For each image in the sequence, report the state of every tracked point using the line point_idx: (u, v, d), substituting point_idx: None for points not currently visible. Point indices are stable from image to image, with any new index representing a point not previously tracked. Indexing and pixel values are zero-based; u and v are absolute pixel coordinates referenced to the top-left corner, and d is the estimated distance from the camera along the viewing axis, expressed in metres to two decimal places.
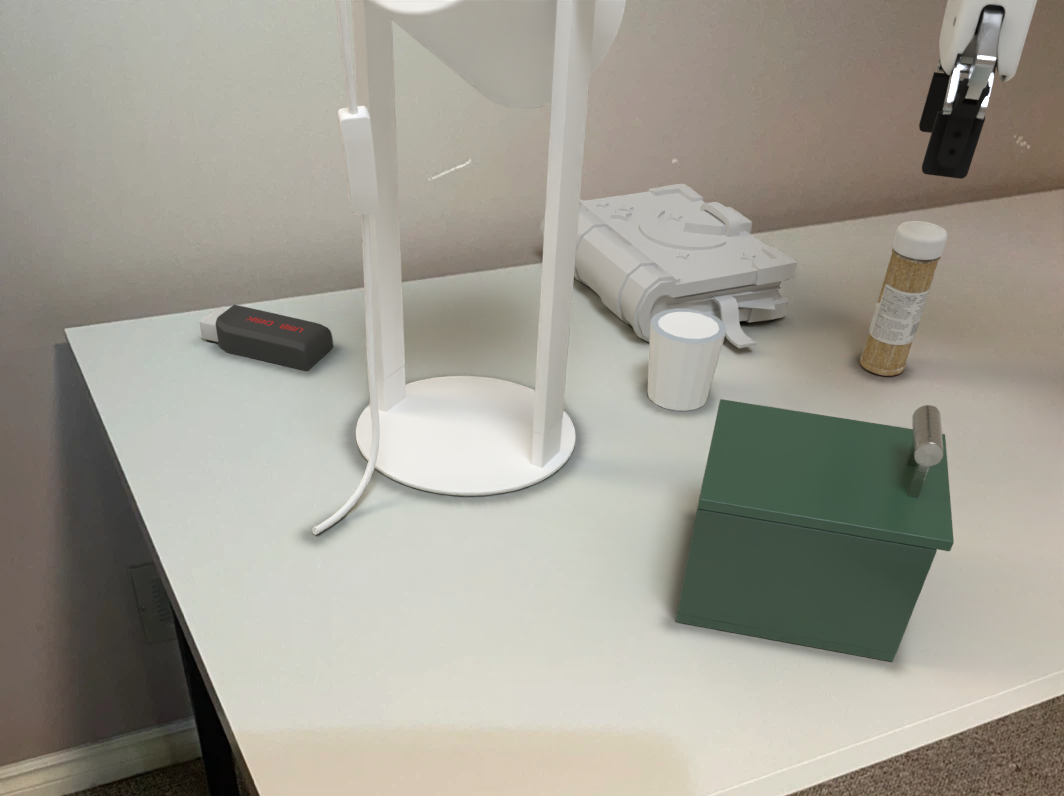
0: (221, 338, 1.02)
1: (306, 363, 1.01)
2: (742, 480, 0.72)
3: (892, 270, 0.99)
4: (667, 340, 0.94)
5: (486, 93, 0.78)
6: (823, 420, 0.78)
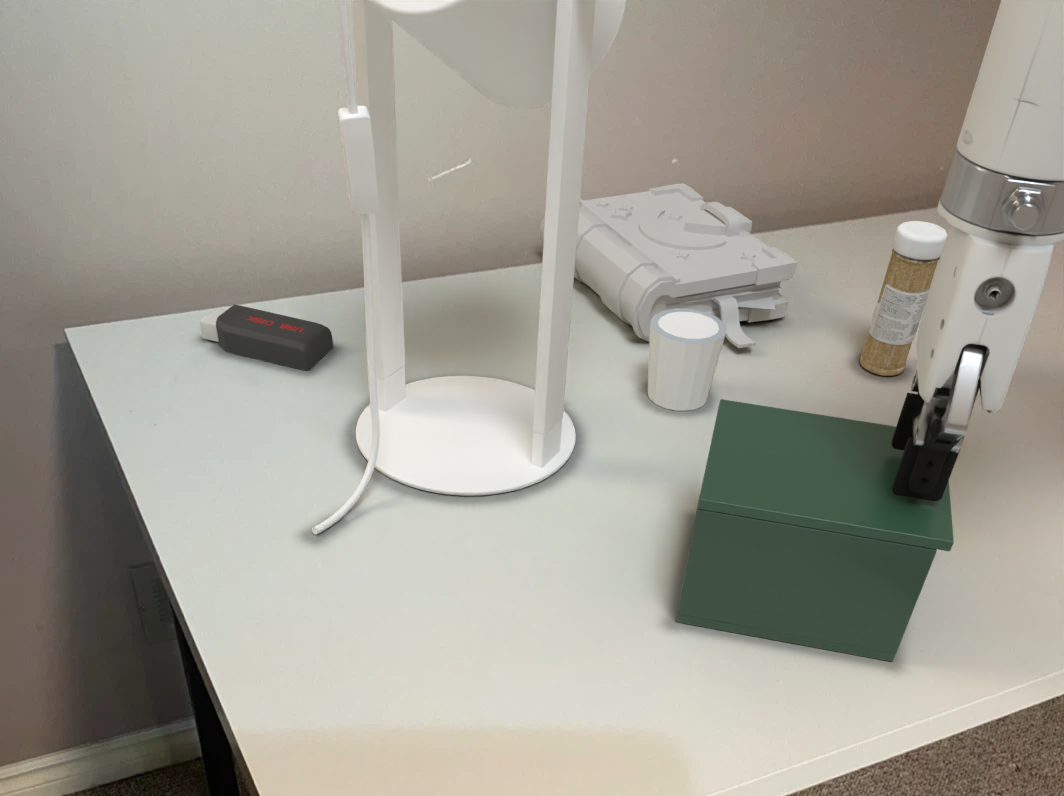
0: (221, 337, 1.02)
1: (306, 363, 1.01)
2: (742, 480, 0.72)
3: (892, 270, 0.99)
4: (667, 340, 0.94)
5: (486, 93, 0.78)
6: (823, 420, 0.78)
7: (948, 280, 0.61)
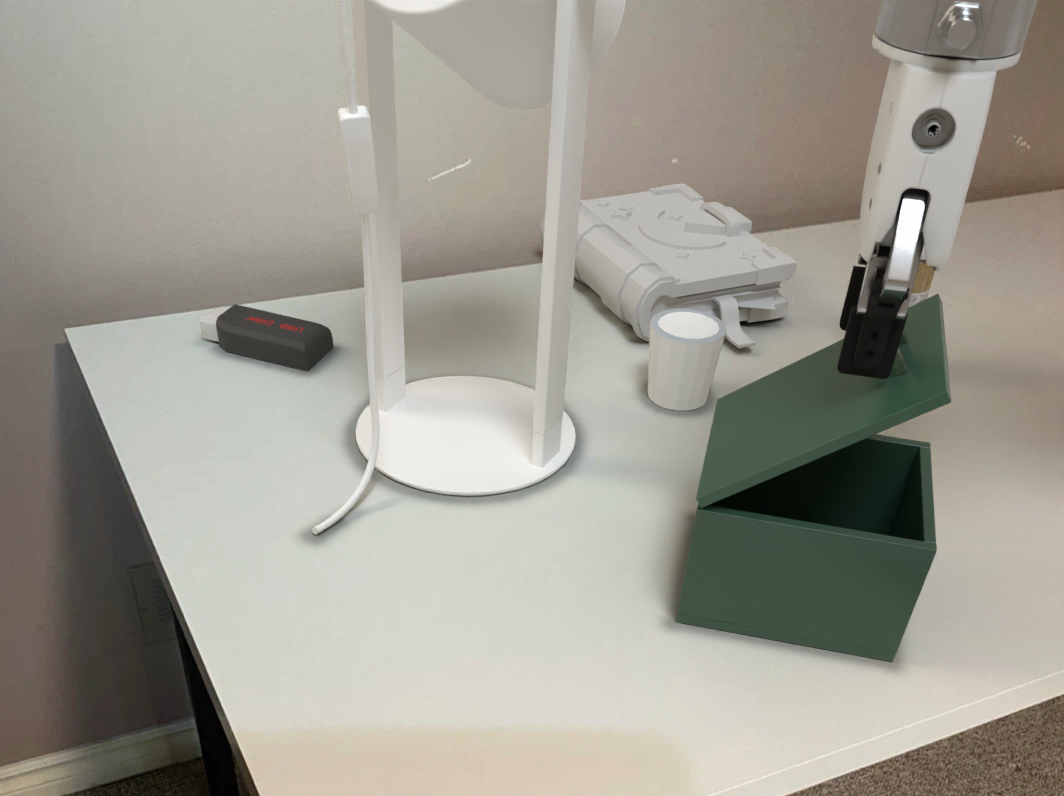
0: (221, 337, 1.02)
1: (306, 363, 1.01)
2: (735, 459, 0.71)
3: None
4: (667, 340, 0.94)
5: (486, 93, 0.78)
6: (813, 358, 0.75)
7: (885, 120, 0.57)
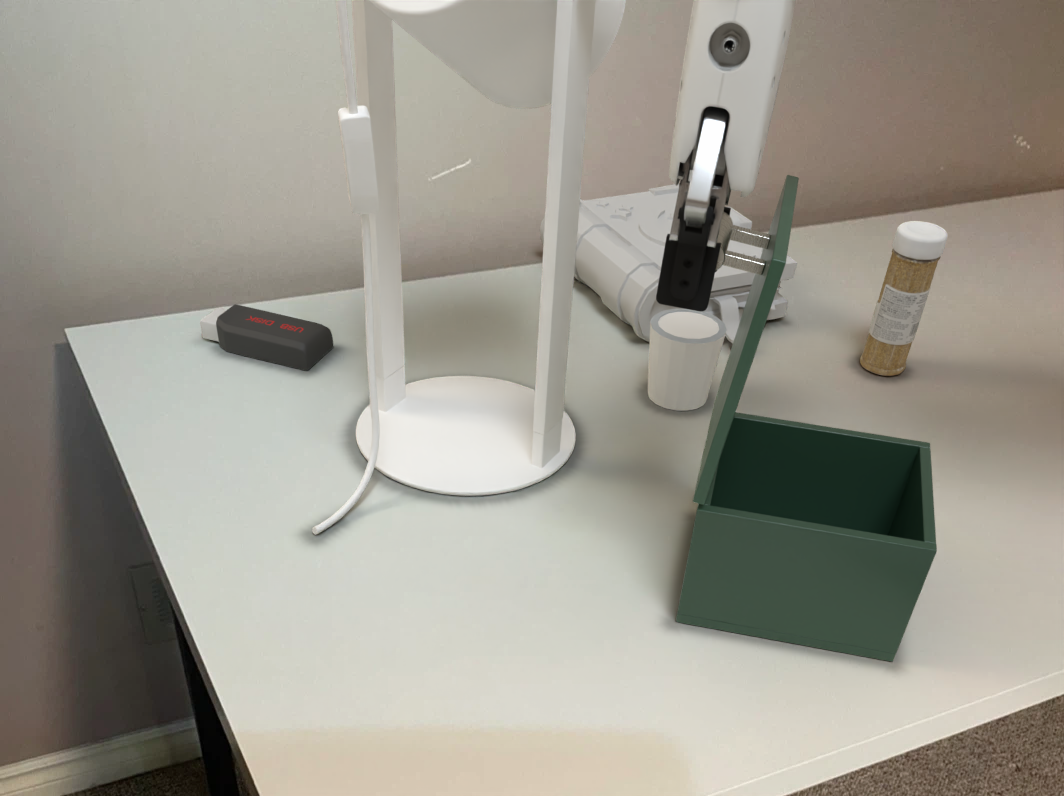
0: (222, 337, 1.02)
1: (306, 363, 1.01)
2: (708, 444, 0.71)
3: (892, 270, 0.99)
4: (667, 340, 0.94)
5: (486, 93, 0.78)
6: (744, 310, 0.74)
7: (687, 36, 0.56)
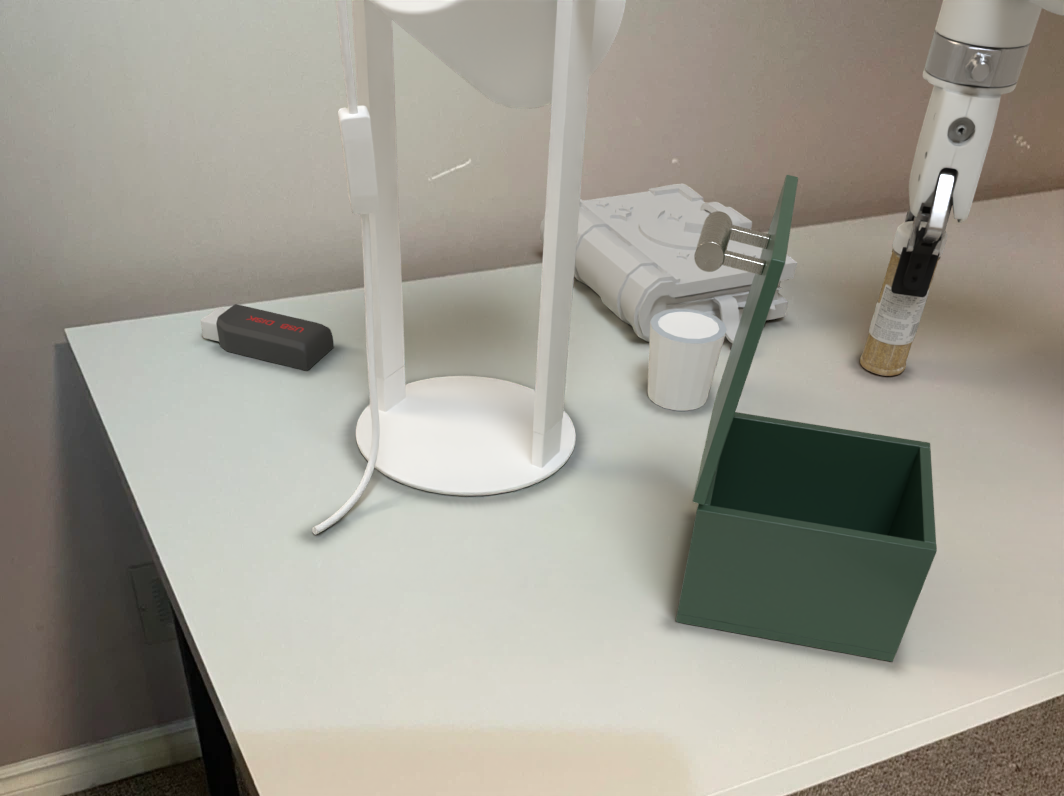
0: (222, 337, 1.03)
1: (306, 363, 1.01)
2: (708, 444, 0.71)
3: (892, 270, 0.99)
4: (667, 340, 0.94)
5: (486, 93, 0.78)
6: None
7: (930, 124, 0.89)
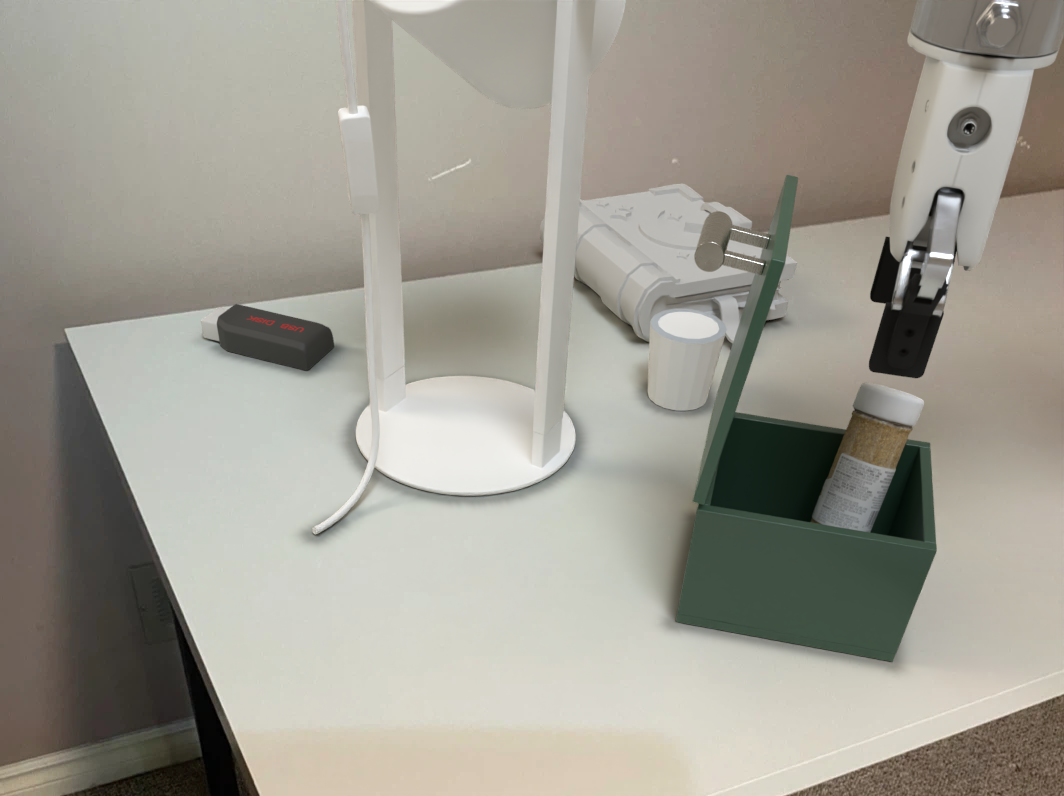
0: (222, 337, 1.03)
1: (306, 363, 1.01)
2: (708, 444, 0.71)
3: (852, 435, 0.76)
4: (667, 340, 0.94)
5: (486, 93, 0.78)
6: None
7: (919, 118, 0.56)
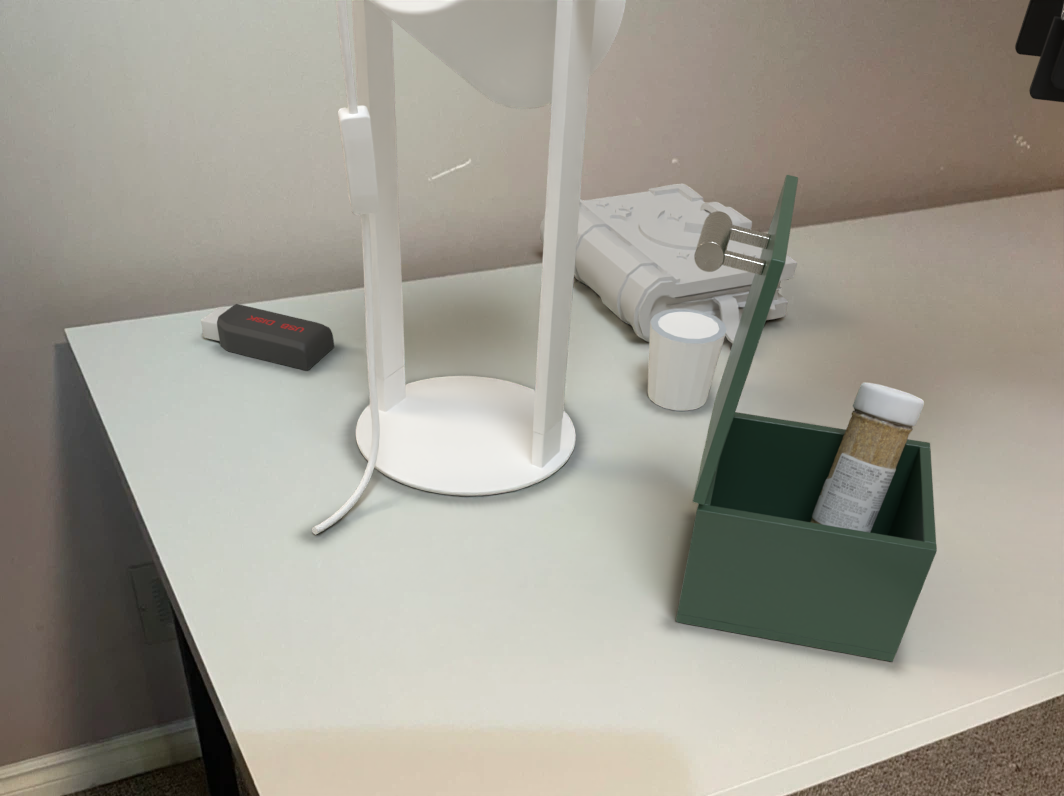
0: (222, 337, 1.03)
1: (306, 363, 1.01)
2: (708, 444, 0.71)
3: (852, 435, 0.76)
4: (667, 340, 0.94)
5: (486, 93, 0.78)
6: None
7: None
